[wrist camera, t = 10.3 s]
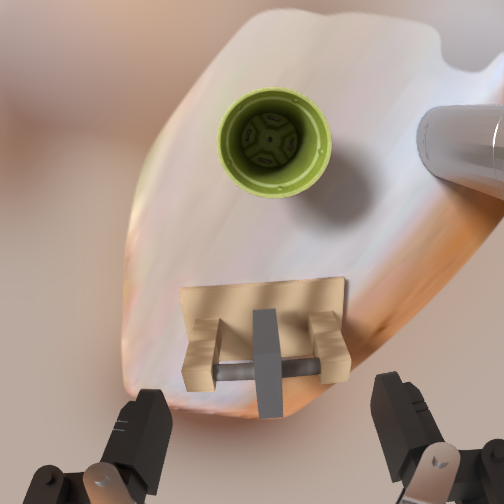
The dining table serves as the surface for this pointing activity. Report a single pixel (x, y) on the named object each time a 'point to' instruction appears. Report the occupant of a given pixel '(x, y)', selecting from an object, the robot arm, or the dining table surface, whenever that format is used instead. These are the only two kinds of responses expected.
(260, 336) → the rubber u
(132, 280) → the dining table surface
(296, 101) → the plant pot
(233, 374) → the bar rack
